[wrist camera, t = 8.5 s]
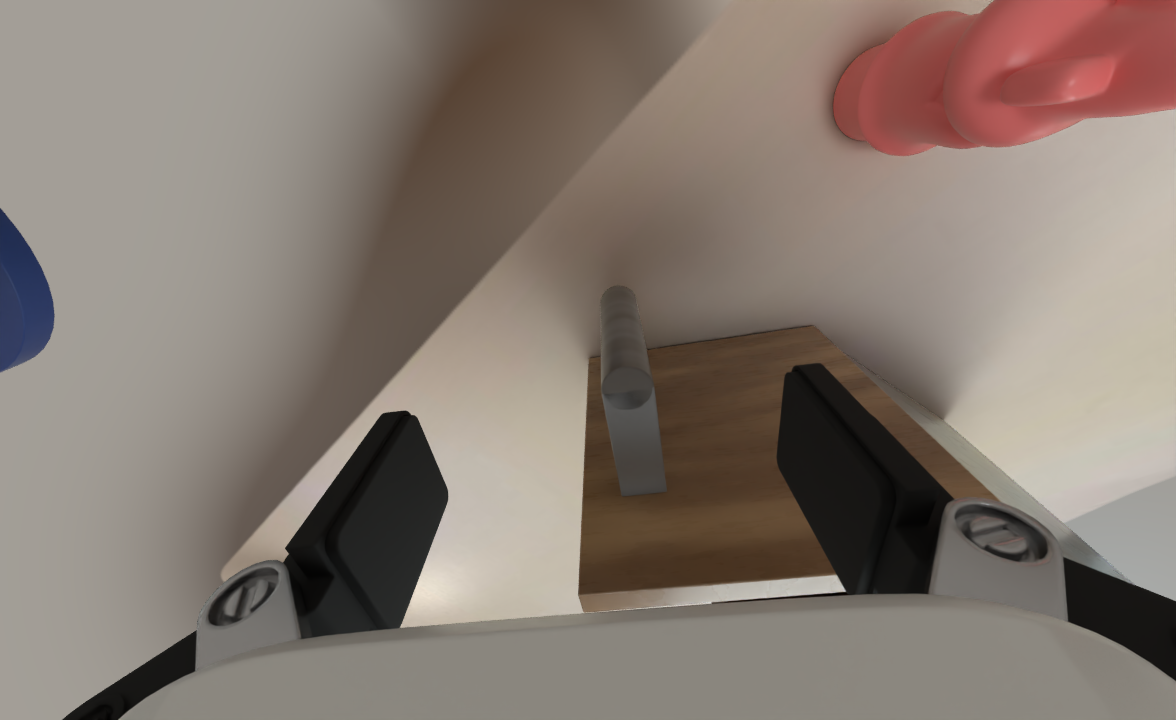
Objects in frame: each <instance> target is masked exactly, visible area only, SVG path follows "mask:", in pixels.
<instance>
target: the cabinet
mask: <svg viewBox="0 0 1176 720" xmlns="http://www.w3.org/2000/svg"><path fill="white" fill-rule="evenodd" d="M844 354H845V353H844ZM845 355H846V354H845ZM846 356H847V357H848V358H849V359H850V360H851V361H852V362H853V363H854V364H855V365H856V366H857V367H859V368H860V369H861V370H862V371H863V372H864V373H865V374H866V375H867V376H868V377H869V378H870V379H871V380H872V381H873V382H875V383H876V384H877V385H878V386H879V387H880V388H881V389H882V390H883V391H884V392H885V393H886V394H887V395H888V396H889V397H891V398H892V399H893V400H894V401H895V402H896V403H897V404H898V405H899V406H900V407H901V408H902V409H903V410H904V411H905V412H906V413H908V414H909V415H910V416H911V417H912V418H913V419H914V420H915V421H916V422H917V423H918V424H919V425H920V426H921V427H922V428H924V429H925V430H926V431H927V432H928V433H929V434H930V435H931V436H932V437H933V438H934V439H935V440H936V441H937V442H938V443H940V444H941V445H942V446H943V447H944V448H945V449H946V450H947V451H948V452H949V453H950V454H951V455H952V456H953V457H954V458H955V459H957V460H958V461H959V462H960V463H961V464H962V465H963V466H964V467H965V468H966V469H967V470H968V471H969V472H970V473H971V474H973V475H974V476H975V477H976V478H977V479H978V480H979V481H980V482H981V483H982V484H983V485H984V486H985V487H986V488H987V489H989V490H990V491H991V492H992V493H993V494H994V495H995V496H996V497H997V498H998V499H999V500H1000V501H1001V502H1002V503H1005V504H1007V505H1010V506H1012V507H1015V508H1017V509H1019V510H1021V511H1023V512H1025V513H1026V514H1028V515H1030V516H1032V517H1033V518H1035V519H1036V520H1038V521H1039V522H1040V523H1041V524H1043V525H1044V526H1045V527H1046V528H1048V529H1049V530H1050V532H1051V533H1052V534H1053V535H1054V536H1055V538H1056V539H1057V540H1058V541H1059V544H1060V547H1061V549H1062V552H1063V557H1065V558H1068V559H1070V560H1073V561H1075V562H1078V563H1080V564H1083V565H1085V566H1088V567H1090V568H1093V569H1095V570H1098V571H1101V572H1103V573H1106V574H1108V575H1111V576H1113V577H1116V578H1118V579H1121V580H1123V581H1126V582H1128V583H1131V584H1133V583H1132V582H1131V581H1130V580H1129V579H1128V578H1126V577H1125V576H1124V575H1123V574H1122V573H1121V572H1119V571H1118V570H1117V569H1116V568H1115V567H1114V566H1112V565H1111V564H1110V563H1109V562H1108V561H1107V560H1105V559H1104V558H1103V557H1102V556H1101V555H1100V554H1098V553H1097V552H1096V551H1095V550H1094V549H1093V548H1092V547H1090V546H1089V545H1088V544H1087V543H1086V542H1085V541H1083V540H1082V539H1081V538H1080V537H1079V536H1078V535H1076V534H1075V533H1074V532H1073V531H1072V530H1071V529H1069V528H1068V527H1067V526H1066V525H1065V524H1064V523H1062V522H1061V521H1060V520H1059V519H1058V518H1057V517H1056V516H1054V515H1053V514H1052V513H1051V512H1050V511H1049V510H1047V509H1046V508H1045V507H1044V506H1043V505H1042V504H1040V503H1039V502H1038V501H1037V500H1036V499H1035V498H1033V497H1032V496H1031V495H1030V494H1029V493H1028V492H1026V491H1025V490H1024V489H1023V488H1022V487H1021V486H1019V485H1018V484H1017V483H1016V482H1015V481H1014V480H1012V479H1011V478H1010V477H1009V476H1008V475H1007V474H1006V473H1004V472H1003V471H1002V470H1001V469H1000V468H999V467H997V466H996V465H995V464H994V463H993V462H992V461H990V460H989V459H988V458H987V457H986V456H985V455H983V454H982V453H981V452H980V451H979V450H978V449H976V448H975V447H974V446H973V445H972V444H971V443H969V442H968V441H967V440H966V439H965V438H964V437H962V436H961V435H960V434H959V433H958V432H957V431H955V430H954V429H953V428H952V427H951V426H950V425H949V424H947V423H946V422H945V421H944V420H942V419H941V418H939V417H938V416H936V415H935V414H933V413H932V412H930V411H929V410H927V409H926V408H924V407H923V406H921V405H920V404H919V403H917V402H916V401H914V400H913V399H911V398H910V397H908V396H907V395H905V394H904V393H902V392H901V391H899V390H898V389H896V388H895V387H893V386H892V385H890V384H889V383H888V382H886V381H885V380H883V379H882V378H880V377H879V376H877V375H876V374H874V373H873V372H871V371H870V370H868V369H867V368H865V367H864V366H862V365H861V364H859V363H858V362H857V361H855V360H854V359H852V358H851V357H849V356H848V355H846ZM1133 585H1135V584H1133ZM846 595H848V594H847V592H836V593H823V594H811V595H798V596H786V597H773V598H761V599H748V600H736V601H723V602H711V603H712V604H718V603H733V602H747V601H761V600H775V599H790V598H809V597H827V596H846Z"/></svg>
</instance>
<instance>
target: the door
mask: <svg viewBox="0 0 1176 720" xmlns="http://www.w3.org/2000/svg"><path fill="white" fill-rule="evenodd" d="M600 311H601V357H595V358H589V364H588V387H587V409H586V432H585V454H584V476H583V499H582V521H581V543H580V566H579V588H578V596H579V599H580V602H581V605H582V609H583V612H585V613H586V612H599V611H611V610H624V609H636V608H649V607H661V606H674V605H686V604H699V603H711V602H723V601H736V600H748V599H761V598H773V597H786V596H798V595H811V594H823V593H836V592H846V591H845V589H844V587H843V586H842V584H841V582H840V580H839V578H838V576H837V575H836V573H835V571H834V569H833V567H832V565H831V564H830V562H829V560H828V558H827V556H826V554H825V553H824V551H823V549H822V547H821V545H820V543H819V542H818V540H817V538H816V536H815V534H814V532H813V531H812V529H811V527H810V525H809V523H808V521H807V520H806V518H805V516H804V514H803V512H802V510H801V509H800V507H799V505H798V503H797V501H796V499H795V498H794V496H793V494H792V492H791V490H790V488H789V487H788V485H787V483H786V481H785V479H784V477H783V476H782V474H781V472H780V470H779V467H778V464H777V458H776V456H777V445H778V435H779V425H780V415H781V405H782V396H783V386H784V377H785V374H786V373H787V372H791V371H792V368H793V367H794V366H795V365H804V364H812V363H821V364H822V365H824V366H825V368H826V369H827V370H828V371H829V372H830V373H831V374H832V375H833V376H834V377H835V378H836V379H837V380H838V381H839V382H840V383H841V384H842V385H843V386H844V387H845V388H846V389H847V390H848V391H849V392H850V393H851V394H852V396H853V397H854V398H855V399H856V400H857V401H858V402H859V403H860V404H861V405H862V406H863V407H864V408H865V409H866V410H867V411H868V412H869V413H870V414H871V415H873V416H874V417H875V418H876V419H877V420H878V421H879V422H880V423H881V424H882V425H883V426H884V427H885V428H886V429H887V430H888V431H889V432H890V433H891V434H892V435H893V436H894V437H895V438H896V439H897V440H898V441H899V442H900V443H901V444H902V445H903V446H904V447H905V449H906V450H907V451H908V452H909V453H910V454H911V455H912V456H913V457H914V458H915V459H916V460H917V461H918V462H919V463H920V464H921V465H922V466H923V467H924V468H925V469H926V470H927V471H928V472H929V473H930V474H931V475H932V476H933V477H934V478H935V479H936V480H937V481H938V483H939V484H940V485H941V486H942V487H943V488H944V489H945V490H946V491H947V492H948V493H949V494H950V495H951V496H952V497H953V498H954V499H958V498H964V497H979V498H986V499H990V500H995V501H999V502H1001V501H1000V500H999V499H998V498H997V497H996V496H995V495H994V494H993V493H992V492H991V491H990V490H989V489H987V488H986V487H985V486H984V485H983V484H982V483H981V482H980V481H979V480H978V479H977V478H976V477H975V476H974V475H973V474H971V473H970V472H969V471H968V470H967V469H966V468H965V467H964V466H963V465H962V464H961V463H960V462H959V461H958V460H957V459H955V458H954V457H953V456H952V455H951V454H950V453H949V452H948V451H947V450H946V449H945V448H944V447H943V446H942V445H941V444H940V443H938V442H937V441H936V440H935V439H934V438H933V437H932V436H931V435H930V434H929V433H928V432H927V431H926V430H925V429H924V428H922V427H921V426H920V425H919V424H918V423H917V422H916V421H915V420H914V419H913V418H912V417H911V416H910V415H909V414H908V413H906V412H905V411H904V410H903V409H902V408H901V407H900V406H899V405H898V404H897V403H896V402H895V401H894V400H893V399H892V398H891V397H889V396H888V395H887V394H886V393H885V392H884V391H883V390H882V389H881V388H880V387H879V386H878V385H877V384H876V383H875V382H873V381H872V380H871V379H870V378H869V377H868V376H867V375H866V374H865V373H864V372H863V371H862V370H861V369H860V368H859V367H857V366H856V365H855V364H854V363H853V362H852V361H851V360H850V359H849V358H848V357H847V356H846V355H845V354H844V353H843V352H842V351H840V350H839V349H838V348H837V347H836V346H835V345H834V344H833V343H832V342H831V341H830V340H829V339H828V338H827V337H826V336H824V335H823V334H822V333H821V332H820V331H819V330H818V329H817V328H816V327H815V326H809V327H802V328H795V329H788V330H781V331H774V332H767V333H761V334H754V335H747V336H740V337H733V338H726V339H719V340H712V341H705V342H699V343H692V344H685V345H678V346H671V347H664V348H657V349H650V350H647V349H646V344H645V339H644V334H643V330H642V325H641V320H640V315H639V311H638V306H637V301H636V297H635V295H634V293H633V292H632V291H631V290H630V289H629V288H627V287H624V286H613V287H611V288H609V289H607V290H606V291H605V292H604V294H603V295H602V297H601V302H600Z"/></svg>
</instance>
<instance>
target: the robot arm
mask: <svg viewBox="0 0 1176 720" xmlns="http://www.w3.org/2000/svg"><path fill="white" fill-rule="evenodd" d="M776 458H777V464H778V467H779V470H780V472H781V474H782V476H783V477H784V479H785V481H786V483H787V485H788V487H789V488H790V490H791V492H792V494H793V496H794V498H795V499H796V501H797V503H798V505H799V507H800V509H801V510H802V512H803V514H804V516H805V518H806V520H807V521H808V523H809V525H810V527H811V529H812V531H813V532H814V534H815V536H816V538H817V540H818V542H819V543H820V545H821V547H822V549H823V551H824V553H825V554H826V556H827V558H828V560H829V562H830V564H831V565H832V567H833V569H834V571H835V573H836V575H837V576H838V578H839V580H840V582H841V584H842V586H843V587H844V589H845V591H846V592H847V594H848V595H846V596H827V597H809V598H790V599H775V600H761V601H747V602H733V603H718V604H704V605H690V606H676V607H662V608H648V609H635V610H622V611H609V612H595V613H582V614H569V615H556V616H543V617H530V618H517V619H505V620H493V621H481V622H468V623H456V624H444V625H432V626H420V627H407V628H400V626H401V624H402V621H403V619H404V616H405V613H406V611H407V608H408V606H409V603H410V600H411V598H412V595H413V592H414V590H415V587H416V584H417V582H418V579H419V576H420V574H421V571H422V569H423V566H424V563H425V561H426V558H427V555H428V553H429V550H430V547H431V545H432V542H433V539H434V537H435V534H436V531H437V529H438V526H439V524H440V521H441V518H442V516H443V513H444V510H445V508H446V505H447V502H448V490H447V487H446V484H445V482H444V480H443V477H442V475H441V472H440V470H439V468H438V465H437V463H436V461H435V458H434V456H433V454H432V451H431V449H430V446H429V444H428V442H427V439H426V437H425V435H424V432H423V430H422V427H421V425H420V423H419V420H418V418H417V417H416V416H414V415H411V414H410V413H409V412H408V411H397V412H388V413H383V414H382V415H381V416H380V417H379V419H378V420H377V421H376V423H375V424H374V426H373V427H372V428H371V430H370V431H369V432H368V434H367V435H366V437H365V438H364V439H363V441H362V442H361V444H360V445H359V446H358V448H357V449H356V451H355V452H354V453H353V455H352V456H351V457H350V459H349V460H348V462H347V463H346V464H345V466H344V467H343V469H342V470H341V471H340V473H339V474H338V475H337V477H336V478H335V480H334V481H333V482H332V484H331V485H330V487H329V488H328V489H327V491H326V492H325V494H324V495H323V496H322V498H321V499H320V500H319V502H318V503H317V505H316V506H315V507H314V509H313V510H312V512H311V513H310V514H309V516H308V517H307V519H306V520H305V521H304V523H303V524H302V525H301V527H300V528H299V530H298V531H297V532H296V534H295V535H294V537H293V538H292V539H291V541H290V542H289V544H288V545H287V546H286V548H285V549H286V550H287V552H288V553H289V555H288V556H287V558H286V559H285V561H284V562H283V563H282V562H280V561H278V560H267V561H263V562H259V563H256V564H254V565H251V566H249V567H247V568H245V569H243V570H241V571H240V572H238V573H237V574H235V575H234V576H232V577H231V578H229V579H228V580H227V581H226V582H224V583H223V584H222V585H221V586H220V587H219V588H217V590H216V591H215V592H214V593H213V594H212V595H211V596H210V597H209V599H208V600H207V601H206V603H205V605H204V606H203V608H202V609H201V611H200V614H199V617H198V621H197V630H196V631H195V632H193V633H191V634H190V635H188V636H187V637H185V638H184V639H182V640H181V641H179V642H177V643H176V644H174V645H173V646H171V647H170V648H168V649H167V650H165V651H164V652H162V653H160V654H159V655H157V656H156V657H154V658H153V659H151V660H150V661H148V662H146V663H145V664H144V665H142V666H140V667H139V668H137V669H136V670H134V671H133V672H131V673H129V674H128V675H127V676H125V677H123V678H122V679H120V680H119V681H117V682H115V683H114V684H112V685H111V686H109V687H108V688H106V689H105V690H103V691H102V692H100V693H98V694H97V695H95V696H94V697H92V698H91V699H89V700H88V701H86V702H85V703H83V704H82V705H81V706H79V707H78V708H76V709H75V710H74V711H72V712H71V713H70V714H68V715H67V716H66V717H65V718H64V719H63V720H1176V601H1173V600H1171V599H1169V598H1166V597H1164V596H1161V595H1159V594H1156V593H1154V592H1151V591H1149V590H1146V589H1143V588H1141V587H1138V586H1136V585H1133V584H1131V583H1128V582H1126V581H1123V580H1121V579H1118V578H1116V577H1113V576H1111V575H1108V574H1106V573H1103V572H1101V571H1098V570H1095V569H1093V568H1090V567H1088V566H1085V565H1083V564H1080V563H1078V562H1075V561H1073V560H1070V559H1068V558H1065V557H1063V552H1062V549H1061V547H1060V544H1059V541H1058V540H1057V539H1056V538H1055V536H1054V535H1053V534H1052V533H1051V532H1050V530H1049V529H1048V528H1046V527H1045V526H1044V525H1043V524H1041V523H1040V522H1039V521H1038V520H1036V519H1035V518H1033V517H1032V516H1030V515H1028V514H1026V513H1025V512H1023V511H1021V510H1019V509H1017V508H1015V507H1012V506H1010V505H1007V504H1005V503H1002V502H999V501H995V500H990V499H986V498H979V497H964V498H958V499H954V498H953V497H952V496H951V495H950V494H949V493H948V492H947V491H946V490H945V489H944V488H943V487H942V486H941V485H940V484H939V483H938V481H937V480H936V479H935V478H934V477H933V476H932V475H931V474H930V473H929V472H928V471H927V470H926V469H925V468H924V467H923V466H922V465H921V464H920V463H919V462H918V461H917V460H916V459H915V458H914V457H913V456H912V455H911V454H910V453H909V452H908V451H907V450H906V449H905V447H904V446H903V445H902V444H901V443H900V442H899V441H898V440H897V439H896V438H895V437H894V436H893V435H892V434H891V433H890V432H889V431H888V430H887V429H886V428H885V427H884V426H883V425H882V424H881V423H880V422H879V421H878V420H877V419H876V418H875V417H874V416H873V415H871V414H870V413H869V412H868V411H867V410H866V409H865V408H864V407H863V406H862V405H861V404H860V403H859V402H858V401H857V400H856V399H855V398H854V397H853V396H852V394H851V393H850V392H849V391H848V390H847V389H846V388H845V387H844V386H843V385H842V384H841V383H840V382H839V381H838V380H837V379H836V378H835V377H834V376H833V375H832V374H831V373H830V372H829V371H828V370H827V369H826V368H825V366H824V365H822V364H821V363H812V364H804V365H795V366H794V367H793V368H792V371H791V372H787V373H786V374H785V377H784V386H783V396H782V405H781V415H780V425H779V435H778V445H777V456H776Z"/></svg>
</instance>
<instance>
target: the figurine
mask: <svg viewBox="0 0 1176 720" xmlns="http://www.w3.org/2000/svg"><path fill="white" fill-rule="evenodd" d="M1171 109H1176V0H994V1H993V2H991V3H990V4H989V5H988V6H987V7H986V8H985V9H984V10H983V11H982V12H981V13H979V14H974V15H970V16H969V15H967V14H964V13H961V12H956V11H944V12H937V13H933V14H929V15H926V16H923V17H921V18H919V19H917V20H915V21H913V22H911V23H910V24H908V25H907V26H905V27H904V28H902V29H901V30H900V31H899V32H897V33H896V34H895V35H894V36H893V37H892V38H891V39H890V40H889V41H888V42H887V43H884V44H881V45H878V46H875V47H873V48H870V49H869V50H867V51H865V52H864V53H862V54H861V55H860V56H858V57H857V58H856V59H855V60H854V61H853V62H852V63H851V64H850V65H849V67H848V68H847V69H846V71H845V72H844V74H843V75H842V77H841V79H840V81H839V83H838V85H837V88H836V91H835V95H834V102H833V112H834V117H835V121H836V123H837V125H838V127H839V129H840V130H841V131H842V132H843V133H844V134H845V135H846V136H848V137H849V138H852V139H854V140H859V141H867V142H868V143H869V144H870V145H871V146H872V147H873V148H875V149H876V150H878V151H880V152H883V153H886V154H889V155H894V156H909V155H914V154H918V153H921V152H924V151H927V150H929V149H931V148H933V147H935V146H937V145H938V146H943V147H948V148H956V149H968V148H976V147H980V146H986V147H1010V146H1016V145H1021V144H1025V143H1028V142H1032V141H1035V140H1038V139H1041V138H1043V137H1046V136H1049V135H1051V134H1054V133H1056V132H1058V131H1061V130H1063V129H1065V128H1068V127H1070V126H1072V125H1074V124H1076V123H1078V122H1080V121H1082V120H1083V119H1086V118H1103V117H1120V116H1131V115H1139V114H1145V113H1151V112H1158V111H1164V110H1171Z"/></svg>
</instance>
